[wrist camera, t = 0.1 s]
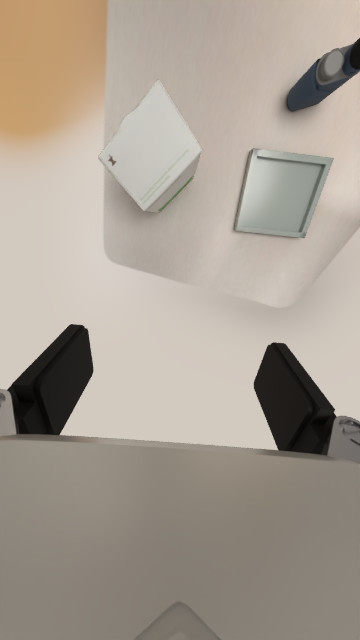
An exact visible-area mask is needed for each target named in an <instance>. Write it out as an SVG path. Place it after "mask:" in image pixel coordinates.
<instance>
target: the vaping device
mask: <svg viewBox="0 0 360 640" xmlns="http://www.w3.org/2000/svg"><path fill="white" fill-rule="evenodd" d="M359 71H360V38H359V39H358V40H357V41H356V42H355V43H354V44H352V45H349V46H346V47H343V48H340V49H339V48H336V49H333V50H332V51H331V52H329V53H326V54H325V55H323V56H322V58H321V59H318V60H317V61H316V62H315V63H314V64H313V65H312V66H311V67H310V69H309V70H308V71H307V72H306V73H305V74H304V75H303V76H302V77H301V79H300V80H299V81H298V82H297V83H296V84H295V85H294V86H293V87H292V89H291V91H290V92H289V95H288V100H287V105H288V108H289V110H290V111H296V110H300V109H303V108H306V107H309V106H312V105H315V104H318V103H319V102H321V101H322V100H323V99H325V98H326V97H327V96H328V95H330V94H331V93H332V92H334V91H335V90H336V89H337V88H339V87H340V86H341V85H343V84H344V83H345V82H346V81H348V80H349V79H350V78H352V77H353V76H354V75H356V74H357V73H358V72H359Z"/></svg>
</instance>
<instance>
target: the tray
mask: <svg viewBox="0 0 360 640" xmlns="http://www.w3.org/2000/svg"><path fill="white" fill-rule="evenodd" d="M333 159H334V158H328V157H320V156H312V155H304V154H296V153H288V152H279V151H271V150H263V149H255V148H253V149H252V150H251V151H250V153H249V158H248V163H247V168H246V172H245V177H244V182H243V187H242V192H241V197H240V202H239V207H238V211H237V216H236V221H235V226H234V230H235V231H243V232H252V233H262V234H271V235H280V236H289V237H299V238H305V236H306V233H307V230H308V227H309V225H310V222H311V219H312V216H313V214H314V211H315V208H316V206H317V203H318V200H319V197H320V195H321V192H322V189H323V186H324V184H325V181H326V178H327V176H328V173H329V170H330V167H331V165H332V162H333Z"/></svg>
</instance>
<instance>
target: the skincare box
mask: <svg viewBox="0 0 360 640" xmlns="http://www.w3.org/2000/svg"><path fill="white" fill-rule="evenodd" d="M201 151H202V148H201V147H200V145H199V143H198V141H197V140H196V138H195V136H194V135H193V133H192V131H191V130H190V128H189V127H188V125H187V123H186V122H185V120H184V118H183V117H182V115H181V114H180V112H179V110H178V109H177V107H176V106H175V104H174V102H173V101H172V99H171V98H170V96H169V94H168V93H167V91H166V90H165V88H164V86H163V85H162V83H161V82H160V80H157V81H156V83H155V84H154V85H153V87H152V88H151V89H150V90H149V92H148V93H147V94H146V95H145V96H144V98H143V99H142V100H141V101H140V103H139V104H138V105H137V106H136V108H135V109H134V110H133V111H132V112H131V113H129V114H127V115H126V116H125V117H124V119H123V120H122V122H121V125H120V128H119V130H118V131H117V132H116V134H115V135H114V136H113V137H112V139H111V140H110V141H109V143H108V144H107V145H106V146H105V148H104V149H103V151H102V152H101V153H100V155H99V160H100V161H101V162H102V164H103V165H104V166H105V167H106V168H107V170H108V171H109V172H110V173H111V174H112V175H113V177H114V178H115V179H116V180H117V181H118V182H119V184H120V185H121V186H122V187H123V188H124V189H125V190H126V192H127V193H128V194H129V195H130V196H131V197H132V199H133V200H134V201H135V202H136V203H137V204H138V205H139V207H140V208H141V209H142V210H143V211H148V212H154V213H159V212H160V211H161V210H162V209H163V208H164V207H165V206H166V205H167V204H168V203H169V202H170V201H171V200H172V199H173V198H174V197H175V196H176V195H177V194H178V193H179V192H180V191H181V190H182V189H183V188H184V187H185V186H186V185H187V184H188V183H189V182H190V181H191V180H192V179H193V178H194V175H195V171H196V168H197V164H198V161H199V157H200V154H201Z"/></svg>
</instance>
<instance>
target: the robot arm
mask: <svg viewBox="0 0 360 640" xmlns="http://www.w3.org/2000/svg"><path fill="white" fill-rule="evenodd" d="M92 374H93V363H92V356H91V349H90V342H89V334H88V330H87V329H86V328H84V326H83V325H73V324H71V325H69V326H68V327H67V328H66V329H65V330H64V331H63V332H62V333H61V334H60V335H59V337H58V338H57V339H56V340H55V341H54V342H53V343H52V344H51V345H50V346H49V347H48V348H47V349H46V350H45V351H44V352H43V353H42V354H41V355H40V356H39V357H38V358H37V359H36V360H35V361H34V362H33V363H32V364H31V365H30V366H29V367H28V368H27V369H26V370H25V371H24V372H23V373H22V374H21V375H20V376H19V378H17V380H16V381H15V382H13V384H12V385H11V387H9V389H8V390H3V389H0V640H360V422H359V421H358V420H356V419H353V418H351V417H347V416H338V417H336V415H335V414H334V411H335V409H334V408H333V406H332V405H331V404H330V403H329V401H328V400H327V398H326V397H325V396H324V394H323V393H322V392H321V391H320V389H319V388H318V386H317V385H316V384H315V383H314V381H313V380H312V379H311V377H310V376H309V375H308V373H307V372H306V371H305V369H304V368H303V367H302V365H301V364H300V363H299V361H298V360H297V359H296V357H295V356H294V355H293V353H292V352H291V351H290V349H289V348H288V347H287V346H286V344H284V343H272V344H271V345H268V347H267V349H266V352H265V354H264V357H263V360H262V363H261V365H260V368H259V370H258V373H257V376H256V378H255V381H254V389H255V392H256V394H257V397H258V400H259V402H260V404H261V407H262V410H263V412H264V414H265V417H266V420H267V422H268V425H269V427H270V430H271V432H272V435H273V437H274V440H275V443H276V445H277V448H278V450H279V451H278V450H266V449H253V448H239V447H227V446H213V445H200V444H185V443H172V442H158V441H142V440H128V439H113V438H98V437H82V436H63V435H60V433H61V431H62V429H63V428H64V426H65V424H66V422H67V420H68V418H69V417H70V414H71V413H72V411H73V409H74V407H75V406H76V404H77V402H78V400H79V398H80V396H81V395H82V393H83V391H84V389H85V387H86V386H87V384H88V382H89V380H90V378H91V376H92Z"/></svg>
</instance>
